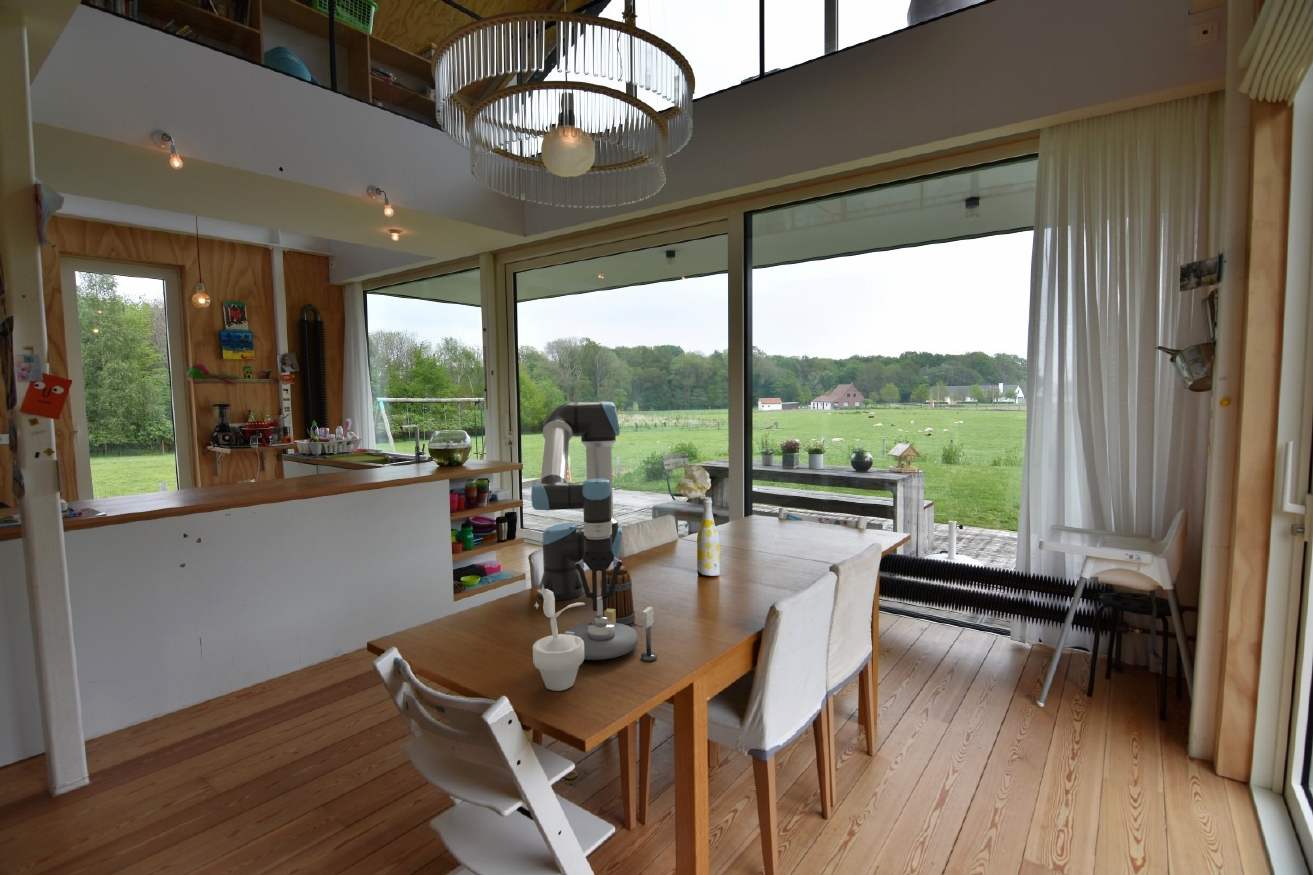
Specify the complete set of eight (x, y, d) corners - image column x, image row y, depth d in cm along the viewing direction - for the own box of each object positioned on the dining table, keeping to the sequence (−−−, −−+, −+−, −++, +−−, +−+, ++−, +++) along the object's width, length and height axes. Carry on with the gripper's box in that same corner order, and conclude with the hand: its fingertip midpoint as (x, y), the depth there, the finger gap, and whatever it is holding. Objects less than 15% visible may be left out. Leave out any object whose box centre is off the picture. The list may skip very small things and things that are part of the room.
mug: (630, 630, 173) (629, 578, 172) (594, 628, 175) (593, 576, 174) (642, 611, 188) (641, 563, 187) (609, 609, 190) (608, 562, 189)
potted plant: (523, 693, 137) (519, 583, 135) (550, 671, 147) (547, 569, 146) (573, 701, 132) (570, 588, 131) (597, 678, 143) (595, 573, 141)
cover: (594, 629, 163) (594, 611, 163) (619, 632, 161) (618, 613, 161) (583, 639, 157) (583, 620, 156) (608, 642, 154) (608, 623, 154)
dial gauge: (659, 656, 155) (658, 607, 154) (652, 662, 151) (651, 612, 150) (635, 652, 157) (634, 604, 157) (628, 658, 154) (627, 609, 153)
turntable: (579, 626, 172) (578, 605, 171) (647, 632, 166) (646, 610, 165) (546, 655, 152) (545, 631, 152) (621, 663, 147) (621, 639, 146)
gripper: (573, 540, 160) (575, 628, 162) (623, 538, 162) (625, 625, 163) (573, 534, 168) (576, 618, 169) (621, 532, 169) (623, 615, 171)
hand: (600, 621), depth 166 cm, fingers closed
